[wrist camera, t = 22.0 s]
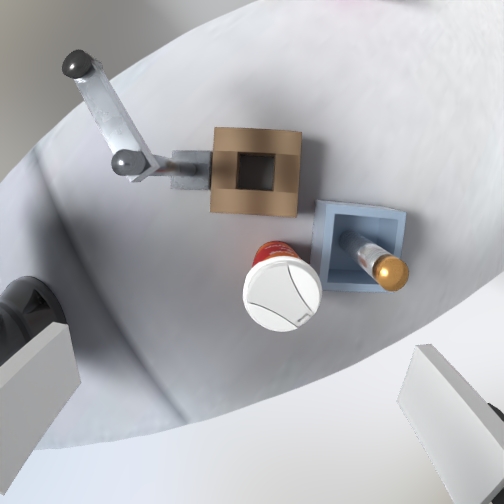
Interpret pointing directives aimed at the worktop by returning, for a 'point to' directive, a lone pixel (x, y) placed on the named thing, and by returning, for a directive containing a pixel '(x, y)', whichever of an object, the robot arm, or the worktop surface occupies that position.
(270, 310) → the paper cup
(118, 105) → the grey tall angled piece
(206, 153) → the base
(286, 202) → the socket block
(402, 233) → the blue open box
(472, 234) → the worktop surface
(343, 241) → the pin
